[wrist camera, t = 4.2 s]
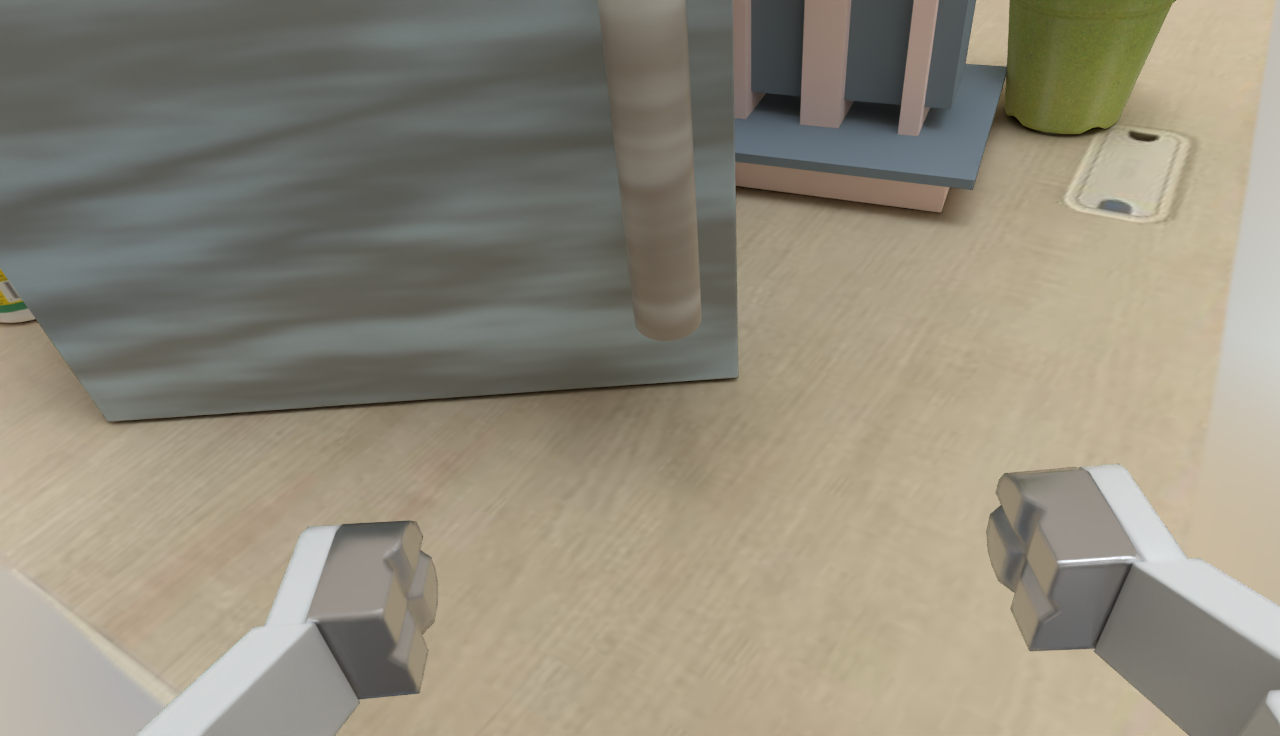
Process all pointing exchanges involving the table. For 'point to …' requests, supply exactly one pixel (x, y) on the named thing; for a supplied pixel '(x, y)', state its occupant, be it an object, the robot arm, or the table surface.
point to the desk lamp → (860, 99)
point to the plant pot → (1077, 60)
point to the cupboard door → (369, 197)
